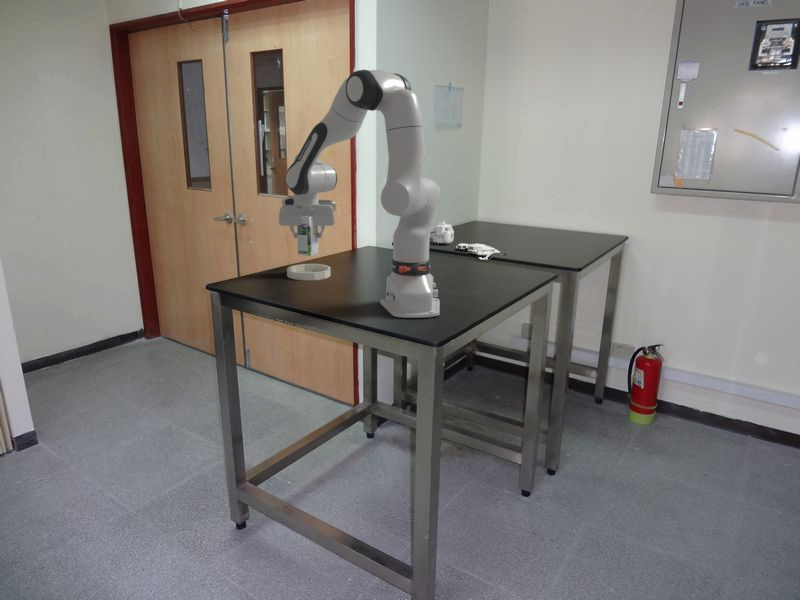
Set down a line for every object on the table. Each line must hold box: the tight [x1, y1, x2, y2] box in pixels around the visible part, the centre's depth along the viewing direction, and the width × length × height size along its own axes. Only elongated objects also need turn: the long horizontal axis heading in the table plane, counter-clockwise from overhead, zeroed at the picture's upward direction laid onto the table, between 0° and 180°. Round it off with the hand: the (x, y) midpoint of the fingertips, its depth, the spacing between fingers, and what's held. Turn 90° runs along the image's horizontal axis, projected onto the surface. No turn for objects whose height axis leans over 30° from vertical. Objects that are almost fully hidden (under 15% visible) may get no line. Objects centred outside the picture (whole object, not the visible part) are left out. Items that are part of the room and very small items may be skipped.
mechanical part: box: [429, 220, 455, 244], centre depth 270 cm, size 11×12×12 cm
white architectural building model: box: [455, 243, 501, 261], centre depth 250 cm, size 23×25×4 cm
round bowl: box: [286, 263, 332, 281], centre depth 203 cm, size 16×16×3 cm
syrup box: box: [296, 216, 319, 257], centre depth 199 cm, size 6×6×14 cm
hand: (307, 237), depth 200 cm, fingers closed on syrup box, 7 cm apart
